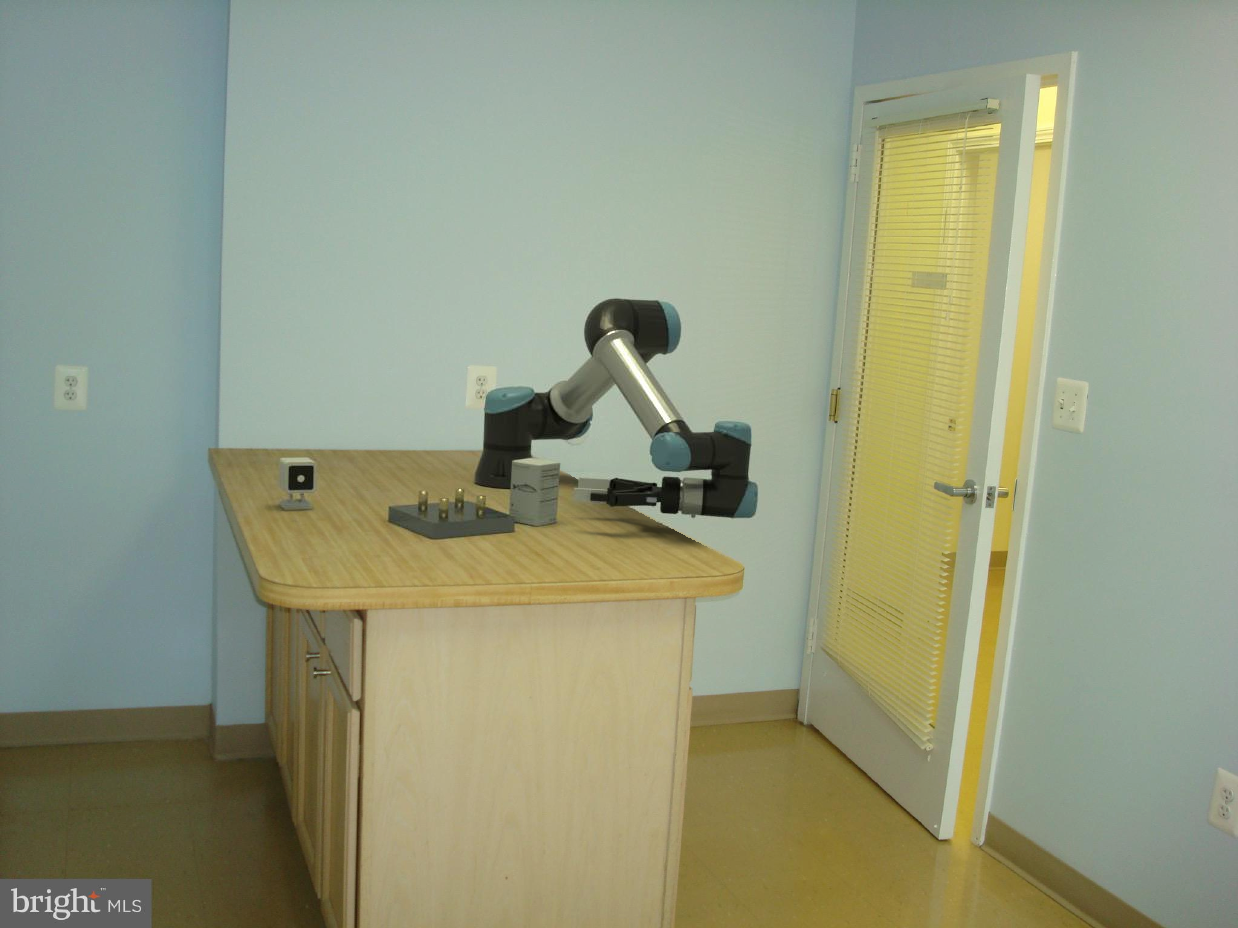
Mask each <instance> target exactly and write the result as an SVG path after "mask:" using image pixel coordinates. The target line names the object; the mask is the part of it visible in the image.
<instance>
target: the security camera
mask: <svg viewBox="0 0 1238 928" xmlns="http://www.w3.org/2000/svg"><path fill="white" fill-rule="evenodd" d="M317 477H318V464H317V462H316V461H314V460H312V459H311V458H310V457H281V458H280V459H279V461H278V487H279V488H280V489H282V491H284V492H285V493H286V494H288V498H280V499H279V506H280V507H281V508H282V509H284V510H285V511H293V510H295V511H296V510H297V511H298V510H312V509H313V502H311V500H309V499H308V498H306V497H305V494H311V493H312V494H313V493H316V491H317V487H318V486H317V484H318V483H317V482H318V478H317ZM293 494H299V496H300V497H299V498H294V496H293Z"/></svg>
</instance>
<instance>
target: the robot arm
mask: <svg viewBox="0 0 1238 928" xmlns="http://www.w3.org/2000/svg"><path fill="white" fill-rule="evenodd" d="M583 327H584V329H583V336H584V337H583V338H584V342H585V345H586V348H587V350H588V353H589V354H590V357H589V358H588V359H587V360H586V361H585V362H584V363H583V364H582V365H581V366H580V367H579V368H578V369H577V370H576V371H575V372H574V373H573V374H572V375H571V376H570V378H568V379H567V380H561V381H558V382H556V383H555V384H554V385H552V387H551V388H550V389H549V390H548V391H545V392H535V390H534V388H533V387H530V386H520V385H519V386H505V387H504V386H503V387H498V388H494V389H492V390H490V391H488V392H487V394H486V396H485V400H484V401H485V402H484V408H483V411H484V412H483V413H484V418H483V421H484V422H483V442H482V443H483V446H482V452H481V456H480V459H479V460H478V463H477V467H476V470H475V471H474V483H475V484H477V485H480V486H484V487H489V488H499V489H511V473H512V461H514V460H521V459H527V458H533V456H532V444H533V443H532V441H540V440H541V441H543V440H544V441H545V440H561V441H562V440H563V441H570V440H575V439H578V438H581V437H583V436H584V435H585V434H586V433H587V432H588V431H589V429H590V427H591V425H592V424H591V421H593V417H594V411H593V410H594V409H593V406H594V405H595V404H596V403H597V402H598V401H600V400H601V398H603V396H604V395H605V394H607V392H609V391H610V390H611V389H612V388H613V387H614V386H616V387H617V388H618V390H619V392H620V393H621V394H622V396H623V398H624V399H625V401H626V402H627V404H628V405H629V407H630V408H631V410H632V411H633V413H634V415H635V416H636V418H637V419H638V420H639V422H640V423H641V425H642V426H643V428H644V430H645V431H646V433H647V435H648V436H649V438H650V439H651V443H650V445H649V455H650V456H651V463H652V464H653V467H655V468H656V469H657V470H659V471H661V472H671V473H672V472H673V473H681V472H690V471H711V473H710V475H711V478H703V477H701V478H698V477H683V479H681V478H679V476H663V477H662V479H661V486H658V483H657V482H648V481H641V480H633V479H625V478H618V477H613V478H610V479H609V478H595V477H581V476H579V477H578V486H577V487H574V488H573V499H572V500H573V501H572V502H573V503H586V504H598V505H600V504H601V505H608V506H609V507H613V508H614V507H636V506H637V507H639V506H640V507H642V506H643V507H646V506H647V507H654V508H655V507H656V506H657V504H658V503H660V505H659V506H660V508H659V511H660V513H661V514H669V515H670V514H671V515H677V514H679V512H680V514H682V515H684V516H686V515H688V516H690V517H691V518H692V519H695V518H696V516H703V517H704V516H705V517H715V518H716V517H717V518H728V519H729V518H730V519H751V518H753V517H754V516H755V515H756V512H757V510H758V509H757V508H758V501H759V500H758V498H759V497H758V495H759V490H758V489H759V488H758V484H757V483H756V482H754V481H751V480H750V479H749V471H750V460H751V459H750V458H751V450H752V444H753V443H752V428H751V425H750V424H749V423H746V422H742V421H733V420H721V421H720V420H719V421H717V422H715V424H714V427H713V431H706V432H705V431H703V432H693V431H692V430H691V428H690V427H689V425H688V424H687V423H686V421H685V420H684V418H683V416H681V413H680V412H679V411H678V409H677V408H676V406H675V405H674V403H673V402H672V400H671V399H670V397H669V396H668V394H667V393H666V391H665V390H664V388H663V386H661V384H660V382H659V381H658V379H657V378H656V377H655V375H654V374H653V372H652V371H651V369H650V368H649V365H647V364H648V363H649V362H650V361H651V360H652V359H653V358H654V357H655V356H656V355H659V354H660V355H664V356H665V355H667V354H671V353H673V352H675V351H676V349H677V348H678V347H679V343H680V342H681V335H682V322H681V318H680V315H679V312H678V311H677V309H676V308H675V306H674V305H673V304H671V303H670V302H668V301H662V300H661V301H660V300H659V299H655V300H651V299H650V300H649V299H630V298H629V299H628V298H618V297H617V298H608V299H605V300H603V301H601V302H599V303H598V304H596V305H595V306H594V307H593V308H592V309H591V310H590V311H589V314H588V315H587V316H586V320H585V323H584V326H583Z"/></svg>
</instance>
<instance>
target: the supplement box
mask: <svg viewBox="0 0 1238 928" xmlns="http://www.w3.org/2000/svg"><path fill="white" fill-rule="evenodd" d="M560 469H561V462H559V461H552V460H547V459H546V460H545V459H541V458H533V457H532V458H527V459H521V460H514V461H512V473H511V488H510V491H509V492H510V494H509V511H508V512H509V513H508V514H509V515H512V516H515V523H521V524H525V525H529V526H535V527H541V526H545V525H549V524H554V523H557V520H558V519H557V518H558V517H557V516H558V507H559V506H558V505H559V504H558V503H559V486H560Z"/></svg>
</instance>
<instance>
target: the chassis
mask: <svg viewBox="0 0 1238 928" xmlns="http://www.w3.org/2000/svg"><path fill="white" fill-rule="evenodd" d="M454 490H455V491H454V501H450V498H448V497H440V498H439V500H438V502H432V503H431V502H430V503H428V502H429V491H427V490H418V499H417V500H418V503H417V504H415V503H413V504H403V505H389V506H388V511H387V512H388V514H387V516H388V518H387V519H388V520H387V521H388V522H389V523H391V524H394V525H396V526H399V527H401V528H404V529H407V530H409V531H412V532H414V533H416V534H418V535H422V536H423V537H426V538H428V539H431V540H439V539H440V540H441V539H449V538H459V537H460V538H463V537H471V536H472V537H474V536H483V535H494V534H504V533H515V529H516V528H515V526H516V522H515V516H512V515H509V513H506V512H502V511H500V510H496V509H494V508H491V507H487V506H486V501H487V497H486V496H487V495H483V494H481V495H476V499H475V500H476V502H473V501H470V500H465V488H458V487H457V488H455V489H454Z"/></svg>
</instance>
